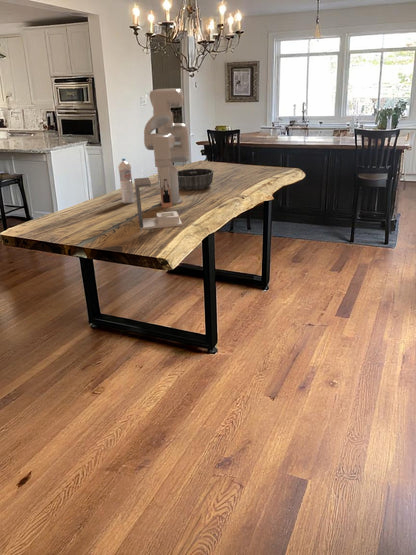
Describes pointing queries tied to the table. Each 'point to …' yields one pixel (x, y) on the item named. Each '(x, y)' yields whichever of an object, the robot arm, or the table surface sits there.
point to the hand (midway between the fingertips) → (166, 201)
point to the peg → (162, 199)
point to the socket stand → (162, 220)
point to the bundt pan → (195, 178)
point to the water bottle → (126, 182)
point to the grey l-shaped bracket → (139, 183)
